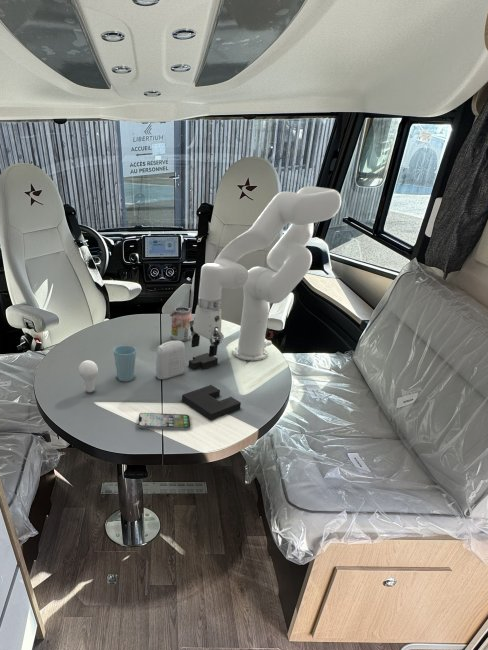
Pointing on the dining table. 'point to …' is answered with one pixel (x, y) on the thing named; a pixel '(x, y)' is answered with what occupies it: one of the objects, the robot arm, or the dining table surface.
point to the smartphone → (164, 421)
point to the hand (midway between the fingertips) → (203, 351)
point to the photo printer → (170, 359)
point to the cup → (125, 362)
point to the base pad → (210, 402)
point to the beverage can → (181, 324)
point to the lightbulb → (88, 374)
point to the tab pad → (203, 361)
